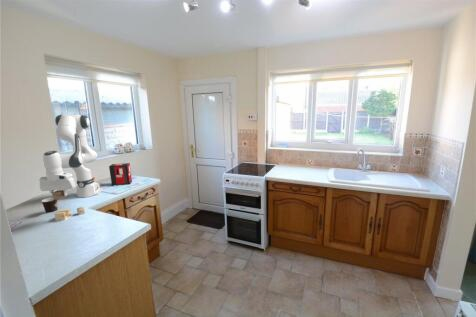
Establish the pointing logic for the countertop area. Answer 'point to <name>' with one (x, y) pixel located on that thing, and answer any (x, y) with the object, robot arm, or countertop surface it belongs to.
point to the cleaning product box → (120, 174)
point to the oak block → (62, 214)
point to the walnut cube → (58, 195)
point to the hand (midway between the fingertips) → (60, 196)
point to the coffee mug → (49, 205)
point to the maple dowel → (80, 210)
